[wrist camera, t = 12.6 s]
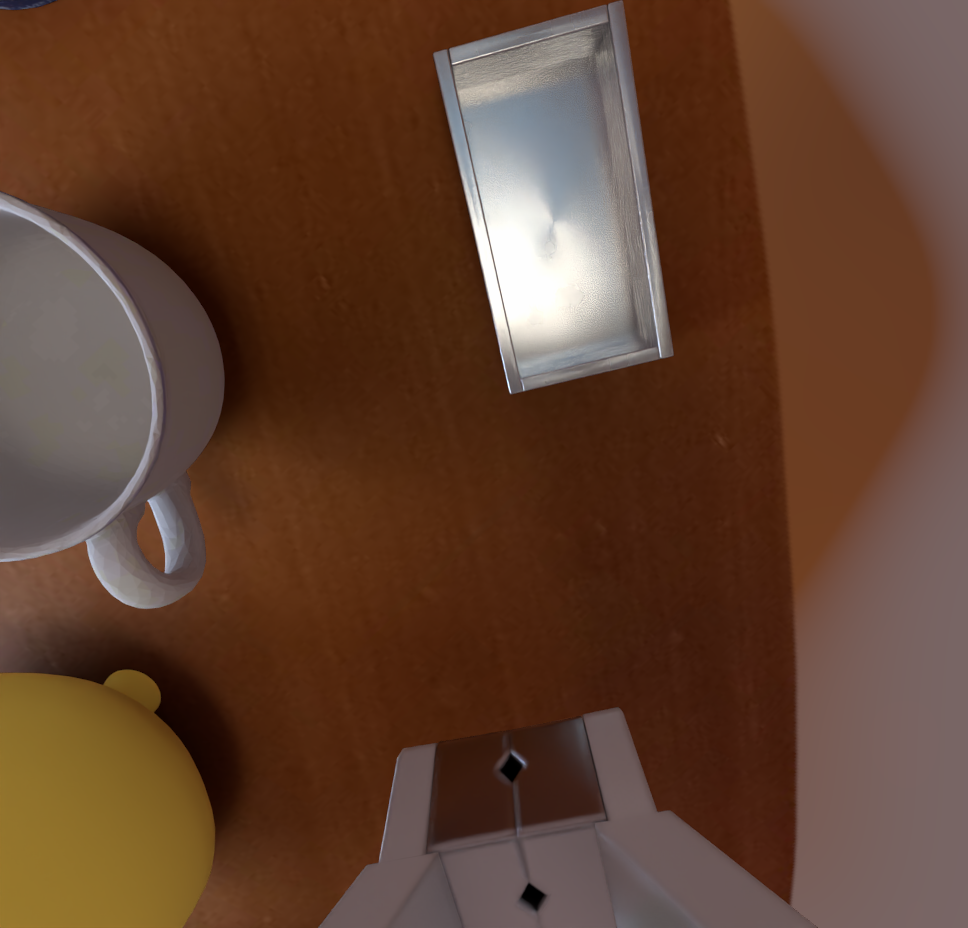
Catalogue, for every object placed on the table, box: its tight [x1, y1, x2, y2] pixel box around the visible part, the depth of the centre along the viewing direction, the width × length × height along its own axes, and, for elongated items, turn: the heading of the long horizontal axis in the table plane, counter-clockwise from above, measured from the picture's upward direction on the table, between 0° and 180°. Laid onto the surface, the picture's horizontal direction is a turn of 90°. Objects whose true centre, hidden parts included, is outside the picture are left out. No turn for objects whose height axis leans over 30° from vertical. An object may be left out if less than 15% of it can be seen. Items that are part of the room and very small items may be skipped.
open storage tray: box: [433, 0, 674, 394], centre depth 21 cm, size 11×6×3 cm, turn 13°
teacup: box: [0, 191, 225, 609], centre depth 20 cm, size 14×11×8 cm
